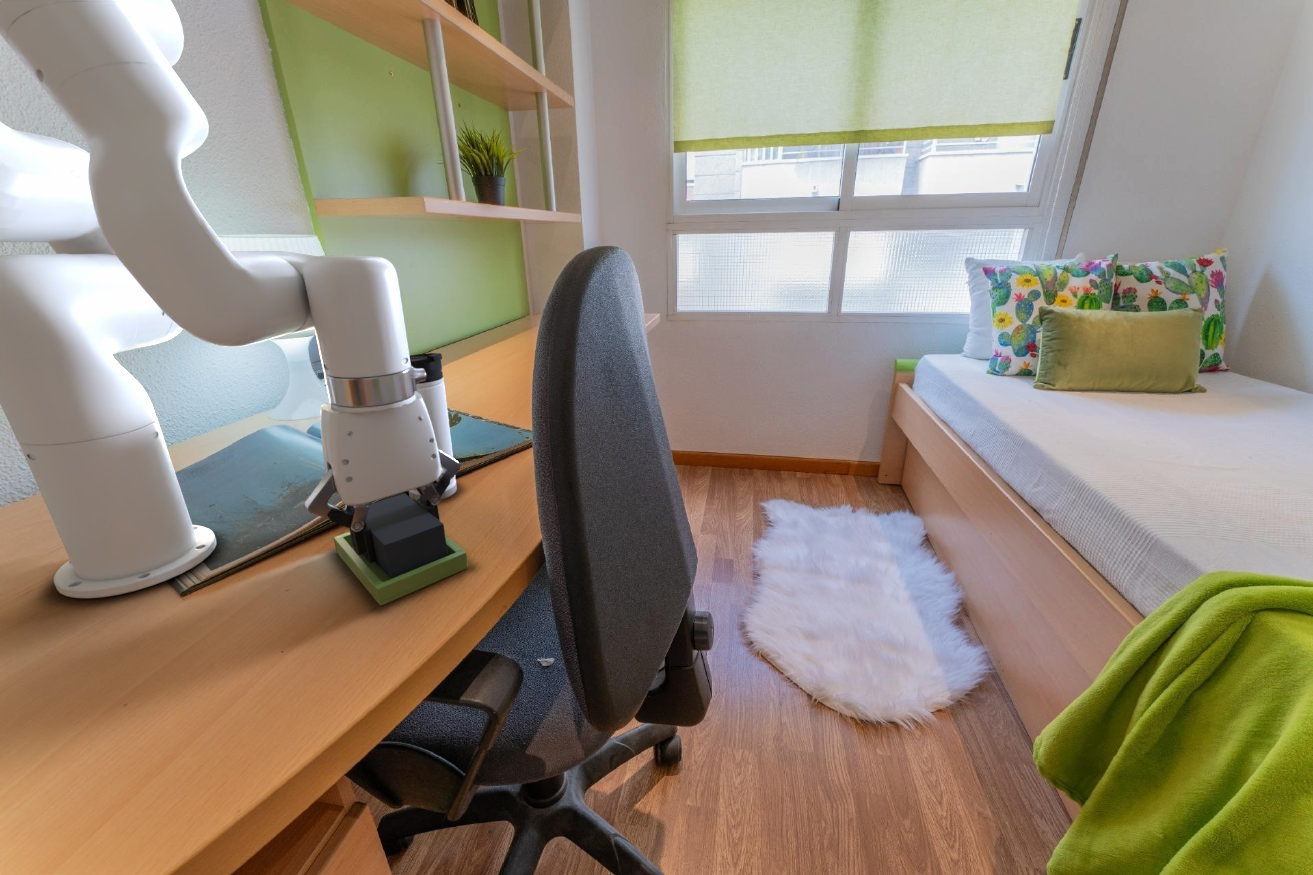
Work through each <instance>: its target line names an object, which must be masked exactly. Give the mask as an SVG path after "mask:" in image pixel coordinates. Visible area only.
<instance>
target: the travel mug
mask: <svg viewBox="0 0 1313 875" xmlns="http://www.w3.org/2000/svg"><path fill="white" fill-rule="evenodd" d="M409 356H410V362H411V366H413V368H416V369H421V368H423V369H424V370H425V372H426V380H425V381H420V382H419V383H417V384H416V388H417V391H416V392H418V393H419V394H421V396H422V398H423V401H424V403H425V406H426V408H427V411H428V414H429V417H430V420H431V423H432V427H433V430H434V434H435V438H436V442H437V447H438V449H439V450H440V451H442V452H443V453H445V454H447V455H448V456H450V457H451V458H453V459H454V452H453V444H452V436H451V428H450V427H451V426H450V418H449V411H448V403H447V394H446V387H445V381H444V374H443V365H442V364H443V363H442V360H443V355H442V353H439V352H428V353H427V352H426V353H418V354H417V353H416V354H411V355H410V354H409ZM441 468H442V465H441ZM457 486H458V485H457V479H456V475H455V476H454V477H453V478H452V479H451V480H450V484H449V486H448V487H447V489H446V490H445V492H444V493H443V494H442V496H441V501H442V500H445V499H448V498H450V497H451V496H453V495H454V494H455V493H456V492H457V491H458V490H457V489H458V487H457ZM408 494H409V495H408V496H409V497H410V498H411V499H413V500H414V501H415V502H418V500H417V499H419V498H420V496H421V495H420V494H419V493H418V491H417V490H416V489H413V490H409V491H408Z"/></svg>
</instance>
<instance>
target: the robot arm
mask: <svg viewBox="0 0 1313 875" xmlns="http://www.w3.org/2000/svg"><path fill="white" fill-rule="evenodd" d="M184 35H185V34H184V28H183V24H182V21H181V19H180V15H179V13H178V11H177V9H176V7H175V5H174V3H173V2H172V0H0V36H1V37H2V38H3V40H4V41H5V42H6V43H7V45H8V46H9V47H10V49H11V50H12V51H13V52H14V53H15V55H16V56H17V57H18V58H19V60H20V61H21V62H22V63H23V65H24V66H25V68H26V69H27V70H28V71H29V73H30V74H31V75H32V76H33V78H34V79H35V80H36V82H38V83H39V85H40V86H41V87H42V89H43V90H44V91H45V92H46V94H47V95H48V96H49V97H50V99H51V100H52V101H53V102H54V103H55V105H56V107H57V108H58V109H59V111H60V112H61V113H62V115H63V116H64V117H65V119H66V120H67V121H68V122H69V124H70V125H71V126H72V127H73V128H74V129H75V131H76V132H77V134H78V135H79V136H80V138H81V139H82V140H83V141H84V143H85V145H86V146H87V149H88V151H89V152H88V151H86V150H85V149H84V148H82V147H79V146H77V145H75V144H73V143H71V142H68V141H66V140H62V139H60V138H57V137H53V136H48V135H44V134H39V133H33V132H29V131H23V130H19V129H14V128H12V127H10V126H8V125H6V124H4V123H3V122H2V121H1V120H0V243H48V245H50V247H51V248H52V250H53V251H54V252H55V253H31V254H30V253H29V254H28V253H27V254H7V255H0V407H1V409H2V411H3V413H4V415H5V417H6V419H7V422H8V423H9V426H10V428H11V430H12V432H13V436H14V437H15V440H16V442H18V444H19V446H20V449H21V451H22V454H23V455H24V459H25V461H26V463H27V465H28V467H29V469H30V471H31V474H32V477H33V479H34V481H35V483H36V486H37V488H38V489H39V492H40V494H41V497H42V499H43V502H44V503H45V506H46V508H47V511H48V513H49V515H50V517H51V520H52V522H53V524H54V527H55V529H56V531H57V534H58V536H59V539H60V540H61V542H62V545H63V548H64V550H65V551H66V554H67V556H68V559H69V560H67V561H66V562H65V563H64V564H62V565H61V566H60V567H59V568H58V569H57V570H56V572H55V573H54V576H53V579H52V580H53V584H54V586H55V588H56V590H57V591H58V593H59V594H61V595H63V596H65V597H69V598H75V599H99V598H107V597H108V598H109V597H113V596H114V597H115V596H119V595H123V594H128V593H133V592H137V591H140V590H143V589H146V588H150V587H153V586H155V585H157V584H161V583H164V582H166V581H168V580H171V579H173V578H175V577H177V576H180V575H182V574H184V573H185V572H187V571H189V570H191V569H193V568H195V567H196V566H198V565H199V564H201V563H202V562H203V561H205V560H206V559H207V558H208V557H209V556H210V555H211V554H212V553H213V552H214V550H215V549H216V546H217V545H218V544H217V537H216V535H215V533H214V531H213V530H212V529H210V528H208V527H205V526H202V525H197V524H193V523H192V519H191V517H190V514H189V511H188V510H189V509H188V507H187V504H186V501H185V498H184V495H183V492H182V489H181V486H180V483H179V480H178V477H177V474H176V471H175V469H174V465H173V461H172V458H171V456H170V453H169V450H168V447H167V443H166V440H165V437H164V434H163V431H162V428H161V426H160V422H159V420H158V417H157V414H156V412H155V409H154V406H153V403H152V401H151V398H150V397H149V395H148V392H146V390H145V389H144V387H143V385H141V383H140V382H139V381H138V380H137V379H136V378H135V377H134V376H133V375H132V374H131V373H130V372H129V371H128V370H126V369H125V367H123V366H122V365H121V364H120V363H119V361H117V360H116V358H115V357H114V355H116V354H119V353H123V352H127V351H131V350H137V349H141V348H146V347H150V346H153V345H154V346H155V345H158V344H162V343H164V342H167V341H169V340H172V339H173V338H174V337H176V336H178V335H179V334H180V333H181V332H182V330H184V331H185V332H186V333H188V334H189V335H191V336H192V337H194V338H195V339H198V340H200V341H202V342H206V343H208V344H211V345H215V346H218V347H225V348H226V347H227V348H228V347H229V348H238V347H239V348H240V347H245V346H251V345H255V344H259V343H262V342H266V341H268V340H269V341H270V340H273V339H276V338H280V337H285V336H289V335H293V334H297V333H301V332H305V331H309V330H314V333H315V337H316V343H317V347H318V352H319V357H320V361H321V366H322V371H323V376H324V381H325V385H326V390H327V394H328V399H329V402H327V403H324V404H322V405H321V406H320V436H321V448H322V457H323V464H324V470H325V471H324V472H325V474H324V475H323V477H322V478H321V479H320V481H319V483H318V484H317V485H316V487H315V488H314V489H313V491H312V492H311V493H310V495H309V496H308V497H307V499H306V500H305V501H304V503H303V506H304V508H305V509H306V510H307V512H309V513H310V514H313V515H315V516H318V517H321V518H323V519H327V520H329V521H331V522H332V523H335V524H338V525H340V526H343V527H344V528H348V529H349V532H350V534H351V539H352V543H353V548H354V550H355V552H356V554H357V555H358V556H359V555H361V554H362V555H363V556H364V557H365V558H366V559H367V560H368V562H369V563H372V562H375V561H376V554H375V549H374V544H373V539H372V534H371V532H372V531H371V528H370V527H369V526H368V525H367V524H366V517H367V513H368V509H369V505H370V504H371V503H374V502H378V501H381V500H384V499H388V498H391V497H394V496H398V495H401V494H404V493H405V492H409V490H413V489H416V490H417V491H418V493H419V494H420V495H421V496H420V498H419V499H417V500H418V501H416V503H417V504H418V505H419V506H421V507H422V508H423V509H424V510H426V511H427V512H429V513H430V514H432V515H433V516H434V517H435V518H437V519H438V520H439V521H440V522H441V519H440V512H439V507H438V505H439V504H440V503H441V502H442V500H441V496H442V494H443V493H444V492H445V490H446V489H447V487H448V486H449V484H450V480H451V479H452V478H453V477H454V476H455V477H456V475H457V473H458V471H459V470H460V469H461V466H462V465H461V463H460V462H459V461H458V460H456V459H455V458H454V457H453V458H451V457H450V456H448V455H447V454H445V453H443V452H442V451H440V450H439V449H438V447H437V442H436V438H435V434H434V430H433V427H432V423H431V420H430V417H429V414H428V411H427V408H426V406H425V403H424V401H423V398H422V396H421V394H419V393H418V392H416V391H417V388H416V384H417V383H419V382H420V381H425V380H426V372H425V370H424V369H423V368H421V369H416V368H413V366H411V362H410V349H409V343H408V335H407V329H406V323H405V317H404V316H405V315H404V309H403V303H402V297H401V290H400V284H399V278H398V272H397V270H396V268H395V266H394V264H393V263H392V262H391V261H390V260H388V259H387V258H385V257H381V256H376V255H362V254H361V255H360V254H359V255H358V254H332V255H331V254H330V255H327V254H325V255H312V254H307V253H299V252H293V251H286V250H285V251H284V250H229V249H228V248H227V246H226V244H225V243H224V242H223V241H222V240H221V238H220V237H219V236H218V234H217V233H216V232H215V230H214V229H213V228H212V226H211V225H210V224H209V222H208V221H207V220H206V218H205V217H204V215H203V214H202V212H201V211H200V209H199V207H197V206H198V205H197V204H196V203H195V201H194V200H193V197H192V196H191V194H190V192H189V189H188V187H187V185H186V182H185V180H184V176H183V170H182V159H185V158H186V157H187V156H189V155H191V154H192V153H194V152H195V151H197V150H198V149H199V148H201V146H202V145H203V144H204V143H205V142H206V140H207V138H208V136H209V133H210V132H209V131H210V126H209V120H208V117H207V116H206V114H205V112H204V110H203V109H202V108H201V106H200V105H199V103H198V102H197V101H196V99H195V98H194V96H192V94H191V92H190V91H189V89H188V88H187V87H186V85H185V84H184V83H183V80H182V79H181V78H180V76H179V75H178V74H177V72H176V71H175V70H174V69H173V66H174V65H176V64H177V63H178V62H179V60H180V58H181V56H182V53H183V50H184V47H185V46H184V45H185V36H184ZM441 465H442V468H441ZM334 494H336V495H337V494H338V495H339V496H340V499H341V502H342V503H343V504H344V508H342V507H340V506H338V505H334V504H330V503H329V500H330V499H331V497H332V496H333V495H334Z"/></svg>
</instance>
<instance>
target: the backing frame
mask: <svg viewBox="0 0 1313 875" xmlns="http://www.w3.org/2000/svg"><path fill="white" fill-rule="evenodd" d="M332 538H333V543H334V547H335V553H336V554H337V555H338V556H339V557H340V559H341V560H342V561H343V562H344V563H345V564H346V566H347V567H348V568H349V570H350V571H351V572H352V573H353V574H354V576H355V577H356V578H357V579H358V580H359V582H360V583H361V584H362V585H363V587H364V588H365V589H366V590H367V592H368V594H370V596H372V598H373V599H374V600H375V601H376V603H377V604H378V605H379V607H381V606H384V605H386V604H389V603H391V602H393V601H396V600H398V599H400V598H403V597H405V596H407V595H409V594H412V593H413V592H416V591H418V590H421V589H423V588H425V587H427V586H429V585H432V584H435V583H436V582H439V581H442V580H444V579H446V578H449V577H450V576H452V575H455V574H457V573H459V572H463V571H464V570H466V569H469V564H468V555H467V552H466V551H465V550H464V549H463V548H461V547H460V546H459V545H458V544H457V543H456V542H454V541H453V540H452V539H451V538H449V537H448V536H447V535H446V534H445V538H446V545H447V552H448V556H446V557H444V558H441V559H439V560H437V561H434V562H432V563H429V564H427V565H424V566H422V567H419V568H417V569H415V570H412V571H410V572H407V573H405V574H402V575H400V576H397V577H395V578H393V579H390V577H389V576H388V575H387V574H386V573H385V572H384V571H383V570H382V569H381V568H380V567H379V565H378V564H377V563H376V562H372V563H369V562H368V560H367V559H366V558H365V557H364V556H363V555H362V554H361V555H359V556H358V555H357V554H356V552H355V550H354V548H353V543H352V539H351V534H350V531H348V532H344V533H342V534H339V535H336V536H333V537H332Z"/></svg>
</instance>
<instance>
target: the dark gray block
mask: <svg viewBox="0 0 1313 875" xmlns="http://www.w3.org/2000/svg"><path fill="white" fill-rule="evenodd" d="M366 524H367V525H368V526H369V527H370V528H371V531H372V532H371V534H372V539H373V544H374V549H375V554H376V561H375V562H376V563H377V564H378V565H379V567H380V568H381V569H382V570H383V571H384V572H385V573H386V574H387V575H388V576H389V577H390V579H393V578H395V577H397V576H400V575H402V574H405V573H407V572H410V571H412V570H415V569H417V568H419V567H422V566H424V565H427V564H429V563H432V562H434V561H437V560H439V559H441V558H444V557H446V556H448V552H447V545H446V538H445V535H446V531H445V525H444V523H443V522H442V521H441V520H440V521H439V520H438V519H437V518H435V517H434V516H433V515H432V514H430V513H429V512H427V511H426V510H424V509H423V508H422V507H421V506H419V505H418V504H417V501H416V500H413V499H412V498H411V497H410V496H409V495H408V494H407V493H405V492H403V493H400V494H397V495H393V496H390V497H387V498H384V499H381V500H377V501H374V502H371V503H370V505H369V509H368V513H367V517H366Z"/></svg>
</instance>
